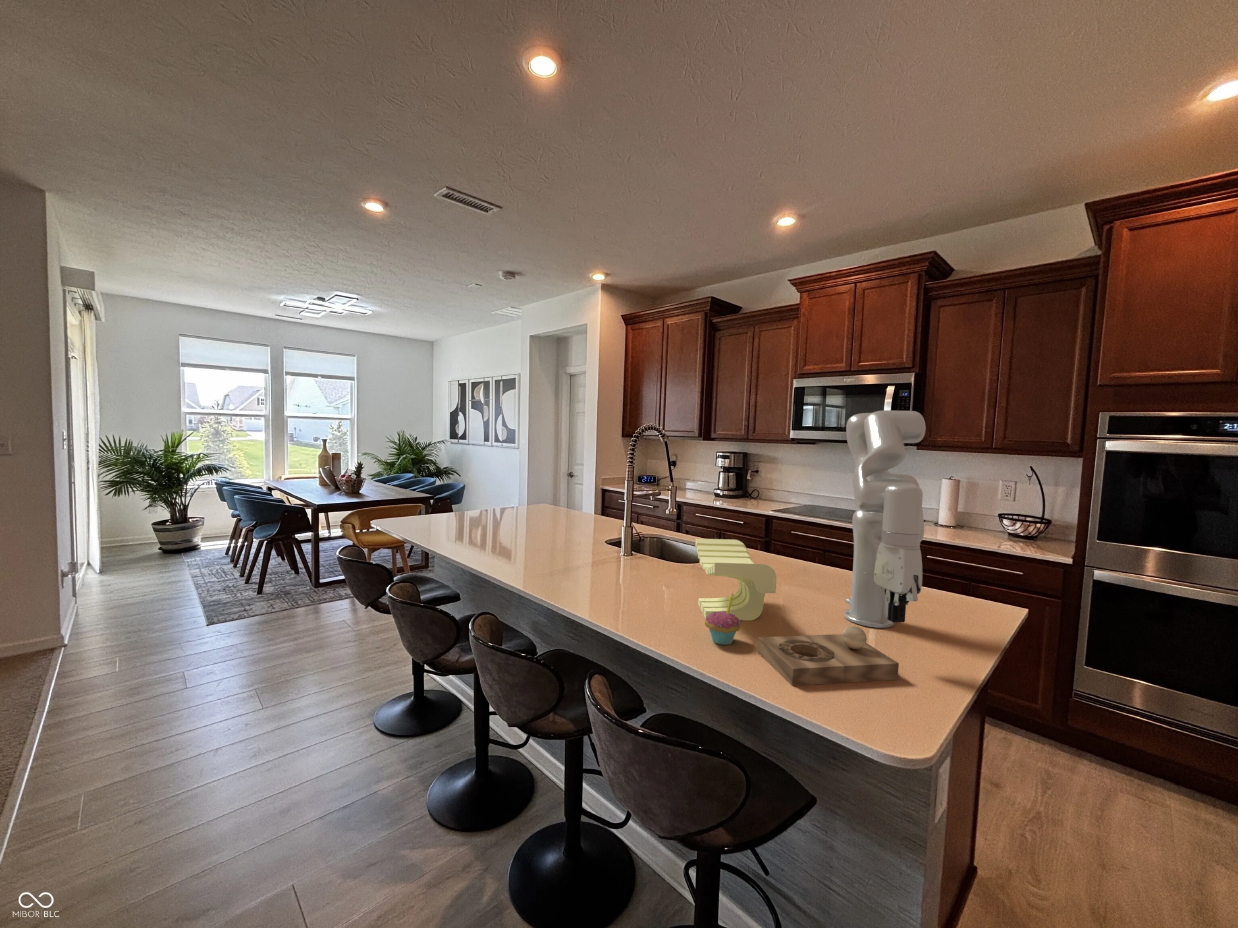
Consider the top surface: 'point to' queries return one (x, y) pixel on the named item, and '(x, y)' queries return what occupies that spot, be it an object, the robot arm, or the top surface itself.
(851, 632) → the ball
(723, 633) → the cupcake
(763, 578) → the slatted curved stool
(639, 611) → the top surface
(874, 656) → the board
